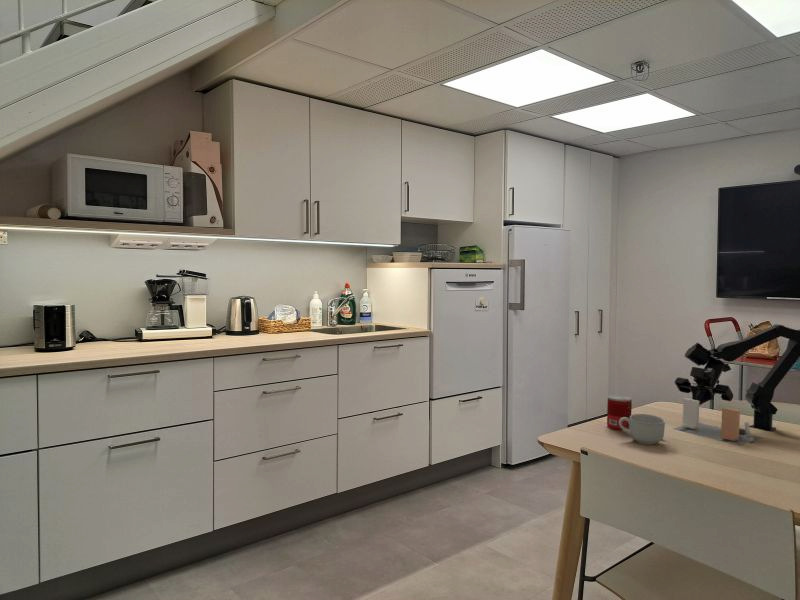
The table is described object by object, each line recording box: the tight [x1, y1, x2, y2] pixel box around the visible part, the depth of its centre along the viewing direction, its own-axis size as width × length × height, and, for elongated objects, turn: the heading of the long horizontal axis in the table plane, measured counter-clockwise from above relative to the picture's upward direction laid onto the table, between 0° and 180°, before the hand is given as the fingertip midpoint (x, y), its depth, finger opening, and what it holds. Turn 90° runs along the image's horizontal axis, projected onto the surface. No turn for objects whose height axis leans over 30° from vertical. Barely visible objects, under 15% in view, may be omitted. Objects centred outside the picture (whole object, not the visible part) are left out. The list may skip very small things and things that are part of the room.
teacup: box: [619, 413, 666, 446], centre depth 185 cm, size 14×11×8 cm
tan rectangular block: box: [720, 407, 741, 441], centre depth 185 cm, size 3×5×10 cm, turn 34°
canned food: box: [606, 394, 633, 431], centre depth 201 cm, size 8×8×11 cm
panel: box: [672, 421, 764, 446], centre depth 192 cm, size 16×22×7 cm
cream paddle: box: [682, 397, 700, 429], centre depth 198 cm, size 3×5×10 cm, turn 34°
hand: (693, 407), depth 199 cm, fingers closed
